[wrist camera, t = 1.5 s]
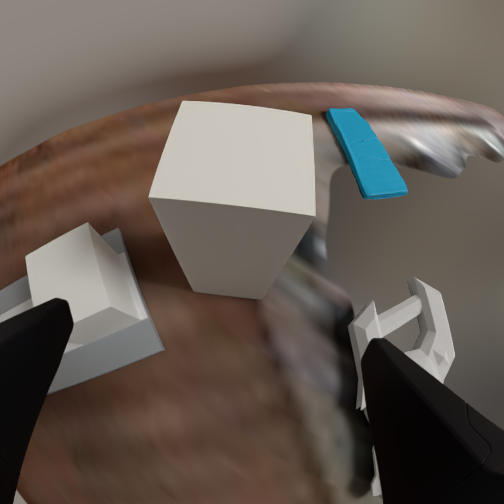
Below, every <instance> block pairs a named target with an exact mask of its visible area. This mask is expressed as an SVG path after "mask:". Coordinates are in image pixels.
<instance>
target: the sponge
mask: <svg viewBox="0 0 504 504" xmlns="http://www.w3.org/2000/svg"><path fill="white" fill-rule="evenodd" d="M326 116H327V119H328V122H329V124H330V126H331V128H332V130H333V132H334V133H335V135H336V137H337V139H338V141H339V143H340V144H341V147H342V148H343V150H344V153H345V155H346V156H347V160H348V162H349V165H350V167H351V170H352V173H353V175H354V177H355V178H356V182H357V184H358V187H359V191H360V193H361V195H362V197H363V198H364V199H367V200H368V199H373V200H374V199H376V200H377V199H385V198H392V197H397V196H403V195H406V194H407V193H408V191H407V187H406V184H405V182H404V181H403V179H402V177H401V176H400V175H399V173H398V171H397V169H396V168H395V166H394V165H393V163H392V161H390V157H389V155H388V153H387V152H386V151H385V148H384V147H383V145H382V143H381V142H380V141H379V140H378V138H377V136H376V135H375V133H374V132H373V131H372V129H371V127H370V125H369V124H368V123H367V121H365V120H364V119H363V118H362V117H361V116H360V115H359V114H358V113H357V112H356V111H355V109H350V108H344V109H338V108H336V109H334V108H329V110H328V111H327V113H326Z"/></svg>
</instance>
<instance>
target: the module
mask: <svg viewBox="0 0 504 504" xmlns="http://www.w3.org/2000/svg"><path fill="white" fill-rule="evenodd" d="M149 199H150V202H151V204H152V206H153V208H154V211H155V213H156V215H157V217H158V220H159V222H160V224H161V226H162V228H163V230H164V233H165V235H166V237H167V239H168V241H169V243H170V245H171V247H172V250H173V252H174V254H175V256H176V258H177V260H178V262H179V264H180V266H181V268H182V270H183V272H184V274H185V276H186V278H187V280H188V282H189V284H190V286H191V288H192V290H193V292H200V293H208V294H216V295H224V296H232V297H241V298H250V299H260V300H262V299H263V298H264V296H265V295H266V293H267V292H268V290H269V289H270V287H271V286H272V284H273V283H274V281H275V280H276V278H277V276H278V275H279V273H280V272H281V270H282V269H283V267H284V266H285V264H286V262H287V261H288V259H289V258H290V256H291V255H292V253H293V251H294V250H295V248H296V247H297V245H298V243H299V242H300V240H301V239H302V237H303V235H304V234H305V232H306V231H307V229H308V227H309V226H310V224H311V222H312V221H313V219H314V218H315V173H314V149H313V131H312V116H311V115H307V114H302V113H296V112H290V111H284V110H278V109H271V108H264V107H256V106H247V105H238V104H227V103H214V102H197V101H182V104H181V106H180V109H179V111H178V114H177V116H176V119H175V121H174V124H173V126H172V129H171V131H170V134H169V137H168V140H167V142H166V145H165V148H164V151H163V154H162V156H161V159H160V162H159V165H158V168H157V171H156V174H155V177H154V181H153V184H152V187H151V190H150V194H149Z"/></svg>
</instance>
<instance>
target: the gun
mask: <svg viewBox="0 0 504 504" xmlns="http://www.w3.org/2000/svg"><path fill="white" fill-rule="evenodd" d="M407 282H408V285H409V289H410V292H411V296H412V297H410V298H408V299H407V300H405V301H403V302H401V303H399V304H398V305H396V306H394V307H392V308H390V309H389V310H387V311H385V312H383V313H381V314H379V315H377V312H376V308H375V304H374V301H371V302H369V303H368V304H367V305H366V306H365V307H364V308H363V309H362V310H361V312H360V313H359V314H358V315H357V316H356V317H355V318H354V320H353V321H352V322H351V323H350V324H349V325H348V331H349V335H350V340H351V344H352V349H353V354H354V359H355V364H356V369H357V374H358V391H357V403H356V409H358V408H359V407H360V406H361V410H362V409H364V413H365V415H366V418H367V420H368V415H367V410H366V404H365V396H364V387H363V379H362V371H361V358H362V356H363V354H364V352H365V350H366V348H367V346H368V344H369V342H370V340H371V339H372V338H382V337H384V336H385V335H387V334H389V333H390V332H392V331H394V330H395V329H397V328H398V327H400V326H402V325H403V324H405V323H407V322H408V321H410V320H411V319H413V318H414V317H416V316H417V319H418V323H419V327H420V331H421V333H420V335H419V337H418V339H417V341H416V343H415V346H414V347H413V350H411V351H407V352H403V353H405V354H406V355H407V356H408V357H410V358H411V359H412V360H413V361H415V362H416V363H417V364H419V365H420V366H421V367H422V368H424V369H425V370H426V371H427V372H429V373H430V374H431V375H433V376H434V377H435V378H436V379H438V380H439V381H440V382H441V383H443V380H444V378H445V376H446V374H447V372H448V370H449V368H450V366H451V364H452V361H453V359H454V357H455V353H454V348H453V342H452V338H451V333H450V328H449V324H448V320H447V316H446V312H445V308H444V304H443V301H442V297H441V294H440V292H438V291H437V290H435V289H433V288H432V287H430V286H428V285H427V284H425V283H423V282H422V281H420V280H418V279H417V278H415V277H413V278H411V279H410V280H408V281H407ZM368 422H369V420H368ZM372 452H373V462H374V472H375V475H374V477H373V480H372V482H371V495H372V496H377V495H379V497H380V498H381V499H383V498H382V491H381V484H380V478H379V472H378V466H377V460H376V455H375V449H374V446H373V449H372Z"/></svg>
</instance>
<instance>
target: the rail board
mask: <svg viewBox="0 0 504 504" xmlns="http://www.w3.org/2000/svg"><path fill="white" fill-rule="evenodd" d="M25 257H26V265H27V273H28V275H26V276H24V277H23V278H21V279H19V280H17V281H16V282H14V283H12V284H11V285H9V286H7V287H6V288H4V289H2V290H1V291H0V322H2V321H5V320H7V319H9V318H11V317H13V316H15V315H18V314H20V313H22V312H24V311H26V310H29V309H31V308H33V307H35V306H37V305H40V304H42V303H44V302H46V301H49V300H51V299H53V298H61V299H65V300H67V301H68V303H69V306H70V310H71V314H72V317H73V321H74V327H73V330H72V333H71V335H70V338H69V341H68V343H67V346H66V349H65V352H64V354H63V357H62V360H61V363H60V365H59V368H58V370H57V373H56V375H55V377H54V380H53V382H52V384H51V386H50V389H49V391H48V393H47V395H48V394H51V393H54V392H57V391H60V390H63V389H66V388H68V387H71V386H74V385H77V384H80V383H82V382H85V381H88V380H91V379H93V378H96V377H99V376H101V375H104V374H107V373H109V372H112V371H115V370H117V369H120V368H122V367H125V366H127V365H130V364H132V363H135V362H137V361H140V360H142V359H145V358H147V357H150V356H152V355H154V354H157V353H159V352H162V351H164V350H165V349H164V347H163V344H162V342H161V340H160V338H159V335H158V333H157V331H156V328H155V326H154V323H153V321H152V319H151V316H150V314H149V311H148V309H147V306H146V303H145V301H144V298H143V296H142V293H141V290H140V287H139V285H138V282H137V279H136V276H135V273H134V271H133V268H132V265H131V262H130V259H129V256H128V253H127V249H126V246H125V243H124V240H123V237H122V233H121V231H120V230H119V229H118V228H116V229H114V230H112V231H110V232H108V233H106V234H104V235H102V236H100V235H99V234H98V233H97V232H96V231H95V230H94V228H93V227H92V226H91V225H90V224H89V223H88V222H87V223H85V224H83V225H81V226H79V227H77V228H75V229H73V230H72V231H70V232H68V233H66V234H64V235H62V236H60V237H58V238H57V239H55V240H53V241H51V242H49V243H48V244H46V245H44V246H42V247H41V248H39V249H37V250H35V251H34V252H32V253H30V254H29V255H27V256H25Z"/></svg>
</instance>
